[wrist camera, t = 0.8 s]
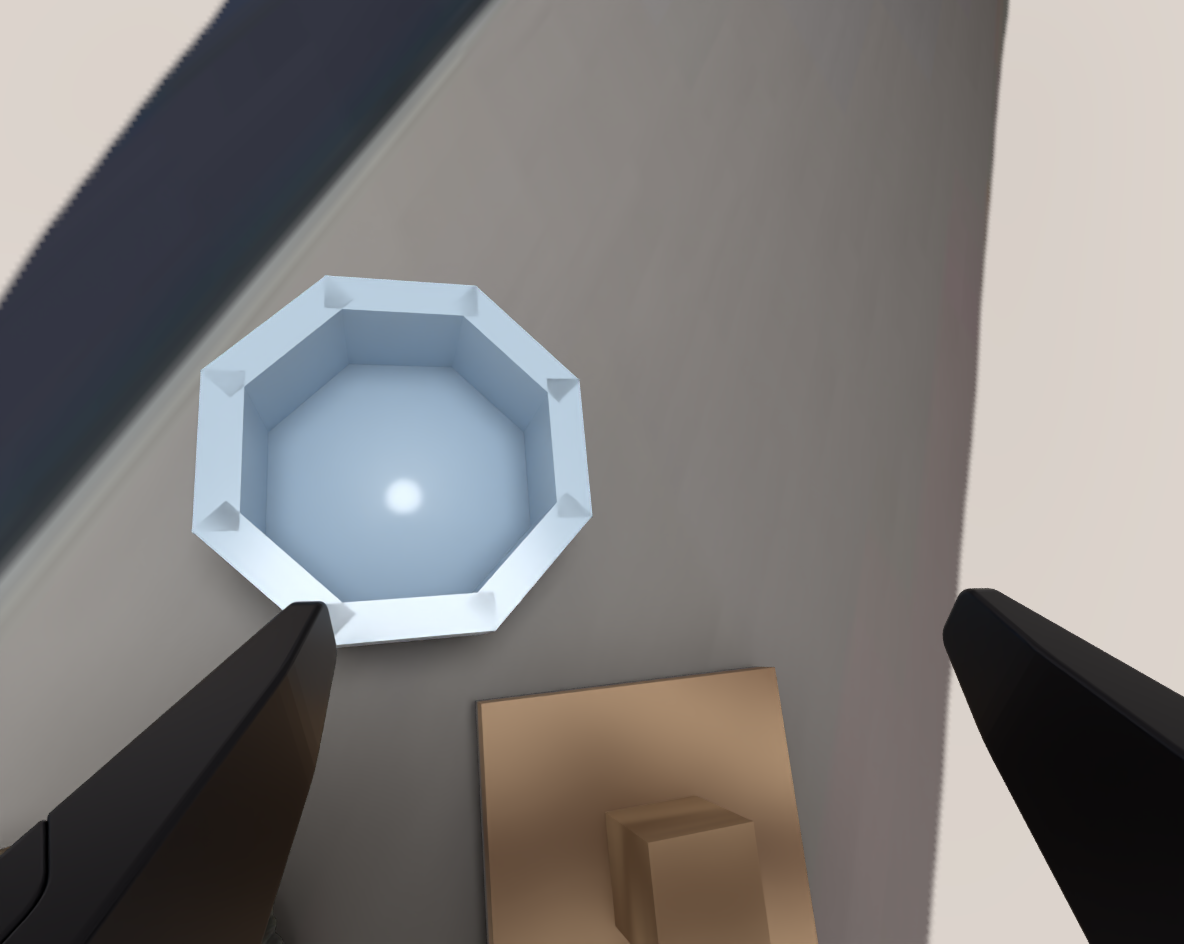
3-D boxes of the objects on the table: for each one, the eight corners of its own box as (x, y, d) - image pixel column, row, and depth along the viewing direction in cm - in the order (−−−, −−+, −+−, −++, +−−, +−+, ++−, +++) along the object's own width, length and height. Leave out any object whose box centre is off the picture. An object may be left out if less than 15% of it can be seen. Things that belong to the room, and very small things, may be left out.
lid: (808, 991, 21) (912, 1075, 17) (496, 1086, 18) (528, 1216, 14) (759, 666, 23) (839, 668, 19) (477, 701, 20) (500, 713, 16)
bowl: (562, 628, 22) (603, 621, 18) (228, 658, 19) (184, 659, 15) (540, 353, 24) (571, 291, 20) (240, 342, 21) (205, 266, 17)
